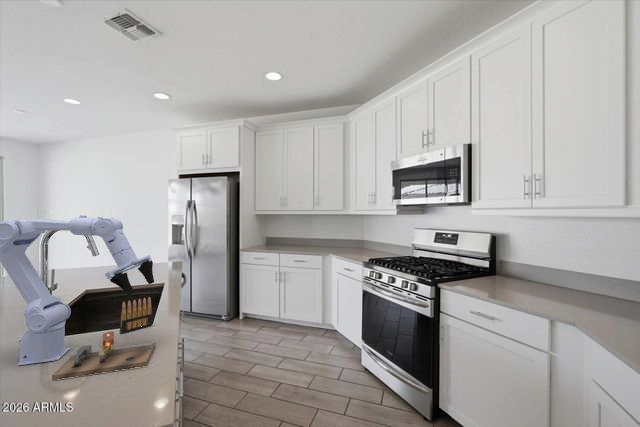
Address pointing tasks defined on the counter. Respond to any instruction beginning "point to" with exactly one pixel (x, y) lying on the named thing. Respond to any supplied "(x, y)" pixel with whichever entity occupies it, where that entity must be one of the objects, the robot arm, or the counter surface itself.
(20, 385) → the counter surface
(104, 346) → the sliding leg
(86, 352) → the fixed leg
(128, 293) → the robot arm
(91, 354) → the steel beam
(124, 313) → the ammunition clip
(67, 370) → the hole plate
